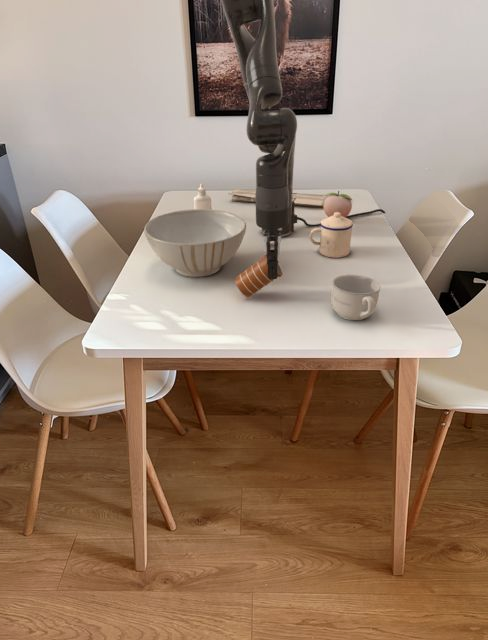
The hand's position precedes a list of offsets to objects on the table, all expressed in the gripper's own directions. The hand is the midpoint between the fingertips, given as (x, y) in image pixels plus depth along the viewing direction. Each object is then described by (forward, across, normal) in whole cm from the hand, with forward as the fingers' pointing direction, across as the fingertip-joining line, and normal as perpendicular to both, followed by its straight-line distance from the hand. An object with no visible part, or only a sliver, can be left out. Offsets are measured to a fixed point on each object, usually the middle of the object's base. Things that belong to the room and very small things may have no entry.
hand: (272, 272), depth 135 cm
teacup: (+7, -10, -19) cm, 23 cm away
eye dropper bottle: (+6, +56, +24) cm, 61 cm away
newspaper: (+7, +76, -1) cm, 76 cm away
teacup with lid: (+7, +29, -16) cm, 34 cm away
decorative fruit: (+7, +56, -20) cm, 60 cm away
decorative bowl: (+6, +17, +21) cm, 28 cm away
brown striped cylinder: (+4, 0, +2) cm, 4 cm away
